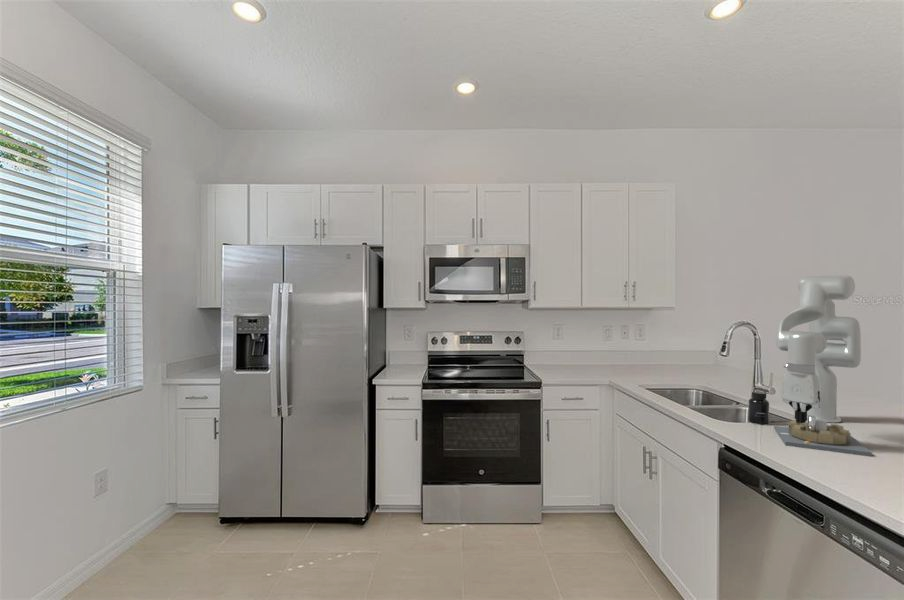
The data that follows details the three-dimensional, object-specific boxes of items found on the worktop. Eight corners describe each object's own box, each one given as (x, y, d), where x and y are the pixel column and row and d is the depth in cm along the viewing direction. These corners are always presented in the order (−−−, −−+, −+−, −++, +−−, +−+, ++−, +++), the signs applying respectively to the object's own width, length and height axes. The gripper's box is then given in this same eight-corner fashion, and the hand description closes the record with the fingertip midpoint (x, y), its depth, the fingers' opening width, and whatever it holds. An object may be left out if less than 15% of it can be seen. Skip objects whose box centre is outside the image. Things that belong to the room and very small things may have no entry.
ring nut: (781, 434, 158) (781, 412, 158) (800, 428, 167) (800, 406, 167) (839, 447, 145) (839, 422, 145) (856, 439, 154) (856, 415, 154)
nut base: (774, 429, 171) (774, 410, 171) (849, 437, 160) (849, 418, 160) (785, 445, 151) (785, 424, 151) (871, 456, 141) (872, 434, 141)
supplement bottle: (759, 425, 175) (759, 394, 175) (743, 420, 182) (744, 391, 182) (773, 424, 177) (773, 393, 177) (757, 419, 184) (757, 390, 184)
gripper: (771, 366, 160) (771, 418, 160) (822, 373, 147) (821, 429, 147) (782, 365, 163) (781, 416, 163) (832, 371, 151) (832, 426, 151)
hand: (800, 422), depth 155 cm, fingers closed
